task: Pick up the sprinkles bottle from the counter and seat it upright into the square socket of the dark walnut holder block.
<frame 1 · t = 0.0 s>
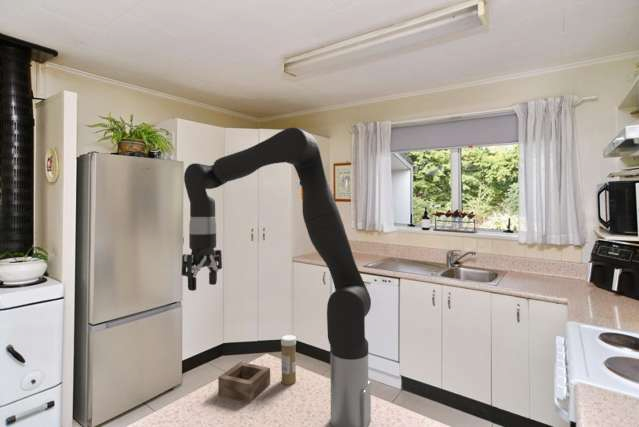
hand: (203, 287, 99), 29 cm above the countertop, fingers open, 8 cm apart
sprinkles bottle: (288, 382, 102), on the countertop
walnut holder: (245, 389, 97), on the countertop
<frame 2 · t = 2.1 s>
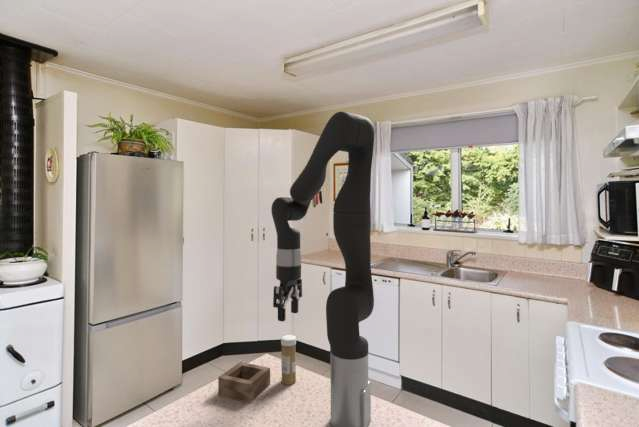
hand: (288, 316, 102), 20 cm above the countertop, fingers open, 8 cm apart
nothing on the countertop moved.
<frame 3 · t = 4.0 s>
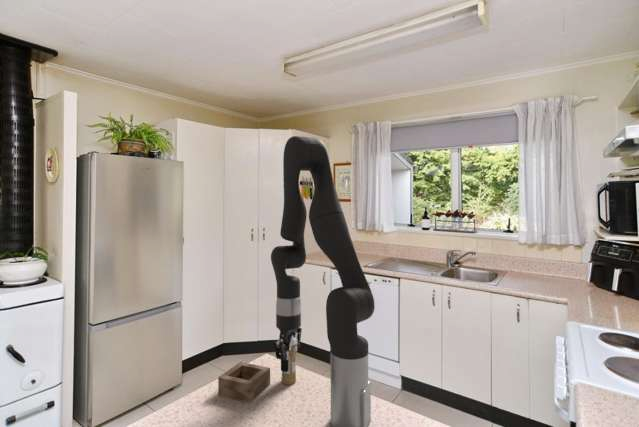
hand: (288, 367, 102), 4 cm above the countertop, fingers closed on sprinkles bottle, 4 cm apart
sprinkles bottle: (288, 382, 102), on the countertop, touching gripper
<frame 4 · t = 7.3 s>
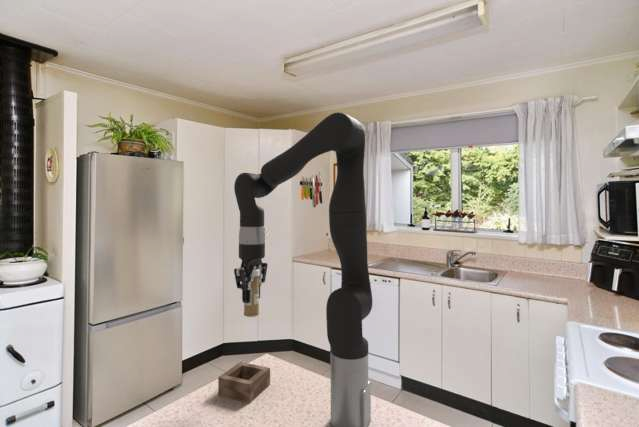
hand: (251, 300, 98), 26 cm above the countertop, fingers closed on sprinkles bottle, 4 cm apart
sprinkles bottle: (251, 315, 98), point 21 cm above the countertop, touching gripper
when the fingers open (7 cm above the countertop, at t = 10.6 s): sprinkles bottle drops 2 cm, resting in walnut holder.
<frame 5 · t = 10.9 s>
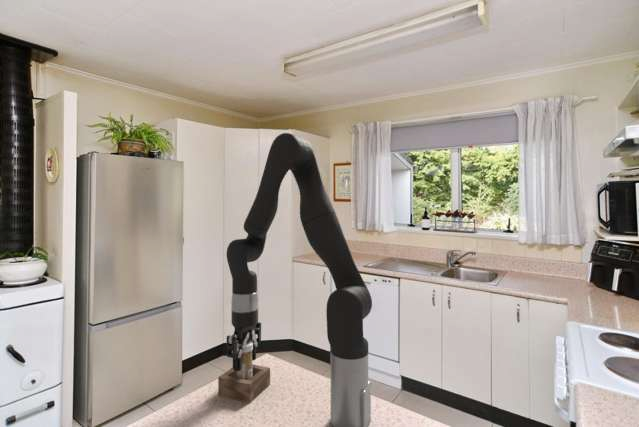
hand: (245, 364, 97), 7 cm above the countertop, fingers open, 7 cm apart
sprinkles bottle: (244, 390, 97), resting in walnut holder
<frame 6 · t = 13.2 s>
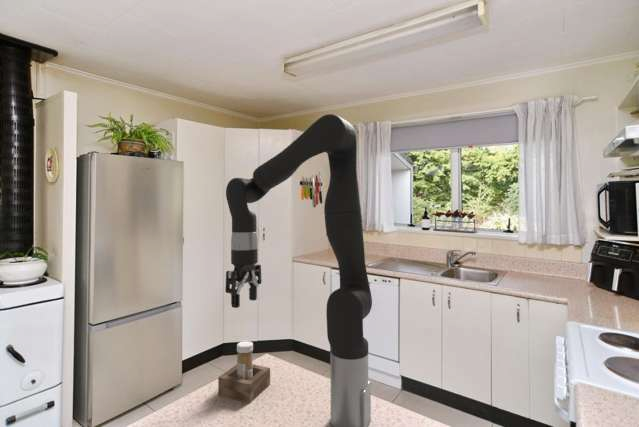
hand: (244, 303, 97), 25 cm above the countertop, fingers open, 8 cm apart
nothing on the countertop moved.
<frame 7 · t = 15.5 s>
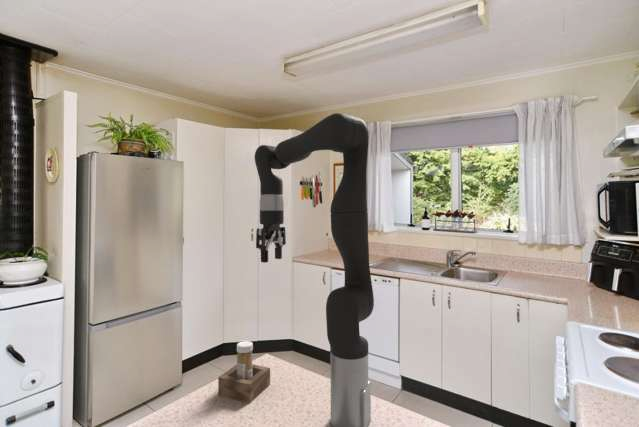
hand: (271, 260, 106), 36 cm above the countertop, fingers open, 8 cm apart
nothing on the countertop moved.
at the end: sprinkles bottle 0.1 cm off-centre on the walnut holder, point 0.0 cm above the walnut holder's base; sprinkles bottle tilted 0°; the gripper is holding nothing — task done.
